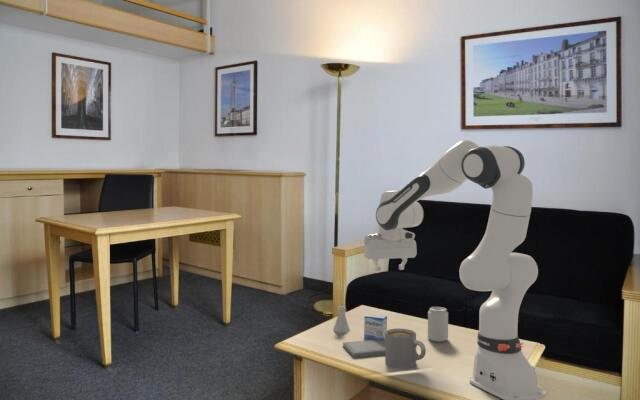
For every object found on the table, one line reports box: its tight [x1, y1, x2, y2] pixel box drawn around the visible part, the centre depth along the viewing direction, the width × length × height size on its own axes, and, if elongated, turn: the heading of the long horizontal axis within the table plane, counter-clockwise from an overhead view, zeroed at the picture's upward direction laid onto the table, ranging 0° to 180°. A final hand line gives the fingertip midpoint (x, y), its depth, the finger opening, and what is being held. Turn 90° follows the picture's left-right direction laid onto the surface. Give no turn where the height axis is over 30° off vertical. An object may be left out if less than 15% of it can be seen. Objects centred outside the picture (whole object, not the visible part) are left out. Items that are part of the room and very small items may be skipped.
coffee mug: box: [384, 327, 427, 369], centre depth 164 cm, size 13×10×10 cm
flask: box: [332, 305, 351, 334], centre depth 199 cm, size 7×7×10 cm
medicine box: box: [363, 313, 388, 342], centre depth 192 cm, size 8×4×9 cm, turn 67°
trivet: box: [342, 339, 385, 359], centre depth 178 cm, size 12×12×2 cm
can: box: [427, 306, 449, 343], centre depth 190 cm, size 8×8×12 cm
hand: (389, 270), depth 189 cm, fingers open, 8 cm apart
